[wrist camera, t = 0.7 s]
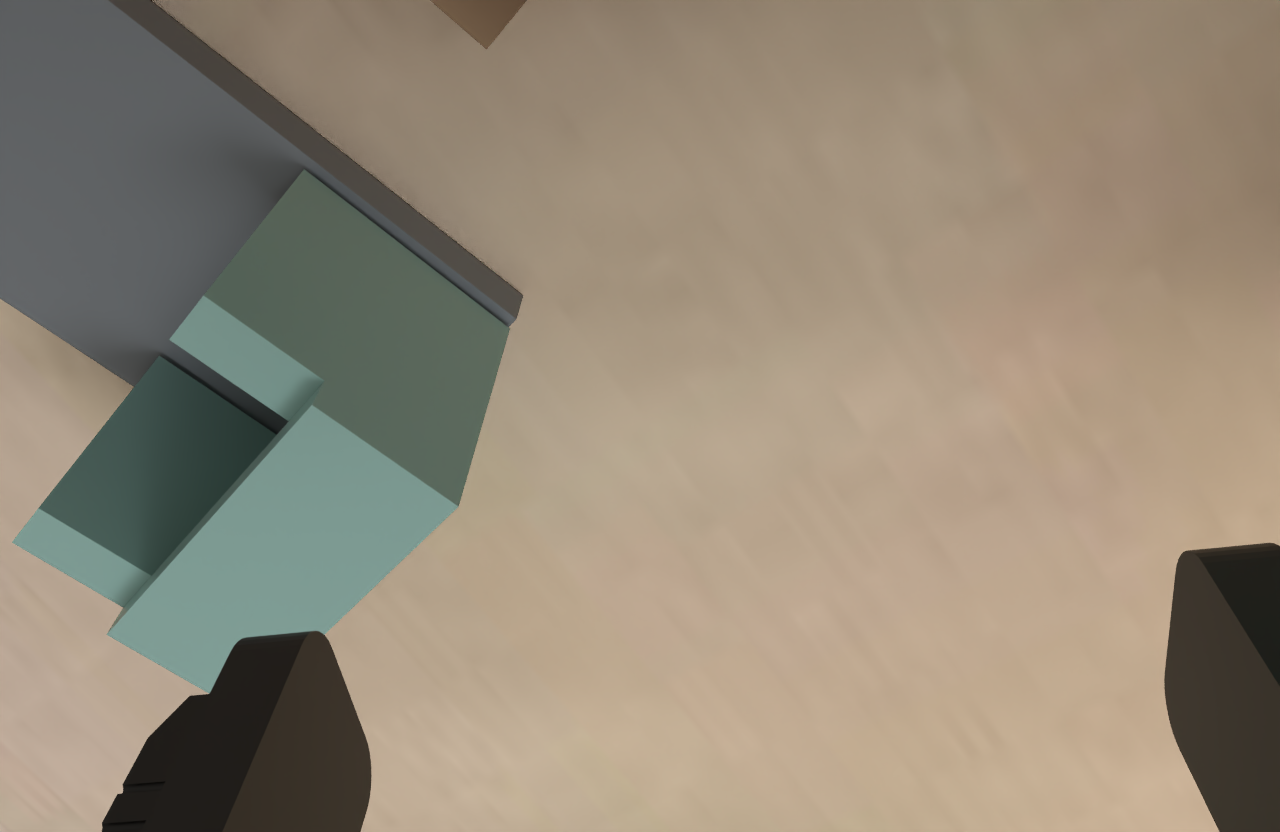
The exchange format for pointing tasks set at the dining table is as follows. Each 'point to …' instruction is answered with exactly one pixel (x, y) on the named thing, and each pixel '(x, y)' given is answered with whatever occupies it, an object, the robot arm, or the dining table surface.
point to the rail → (157, 183)
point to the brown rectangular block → (481, 16)
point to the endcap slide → (279, 443)
